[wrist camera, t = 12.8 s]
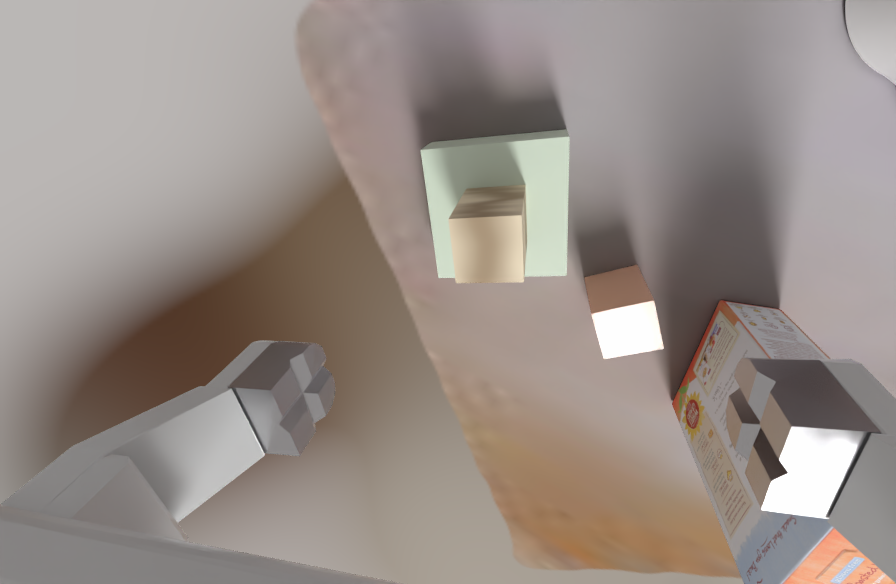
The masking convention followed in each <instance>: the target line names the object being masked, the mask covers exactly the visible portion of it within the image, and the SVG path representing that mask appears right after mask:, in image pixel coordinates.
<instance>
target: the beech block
mask: <svg viewBox="0 0 896 584" xmlns="http://www.w3.org/2000/svg"><path fill="white" fill-rule="evenodd" d="M448 221H449V229H450V237H451V246H452V254H453V262H454V270H455V279H456V283H505V282H524V275H525V263H526V250H527V214H526V185H512V186H497V187H482V188H467V189H466V190H465V192H464V193H463V195H462V197H461V198H460V200H459V202H458V204H457V205H456V207H455V209H454V210H453V212H452V214H451V215H450V217H449V219H448Z"/></svg>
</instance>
